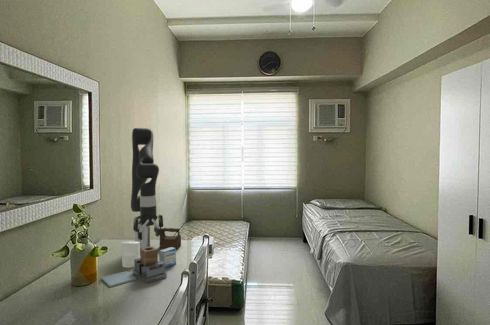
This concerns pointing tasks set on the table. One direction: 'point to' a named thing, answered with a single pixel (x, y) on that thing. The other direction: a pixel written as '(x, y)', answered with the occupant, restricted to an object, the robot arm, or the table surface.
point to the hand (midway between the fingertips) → (148, 238)
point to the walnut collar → (149, 255)
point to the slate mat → (118, 278)
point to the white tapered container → (130, 253)
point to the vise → (149, 271)
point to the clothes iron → (169, 238)
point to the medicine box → (168, 256)
